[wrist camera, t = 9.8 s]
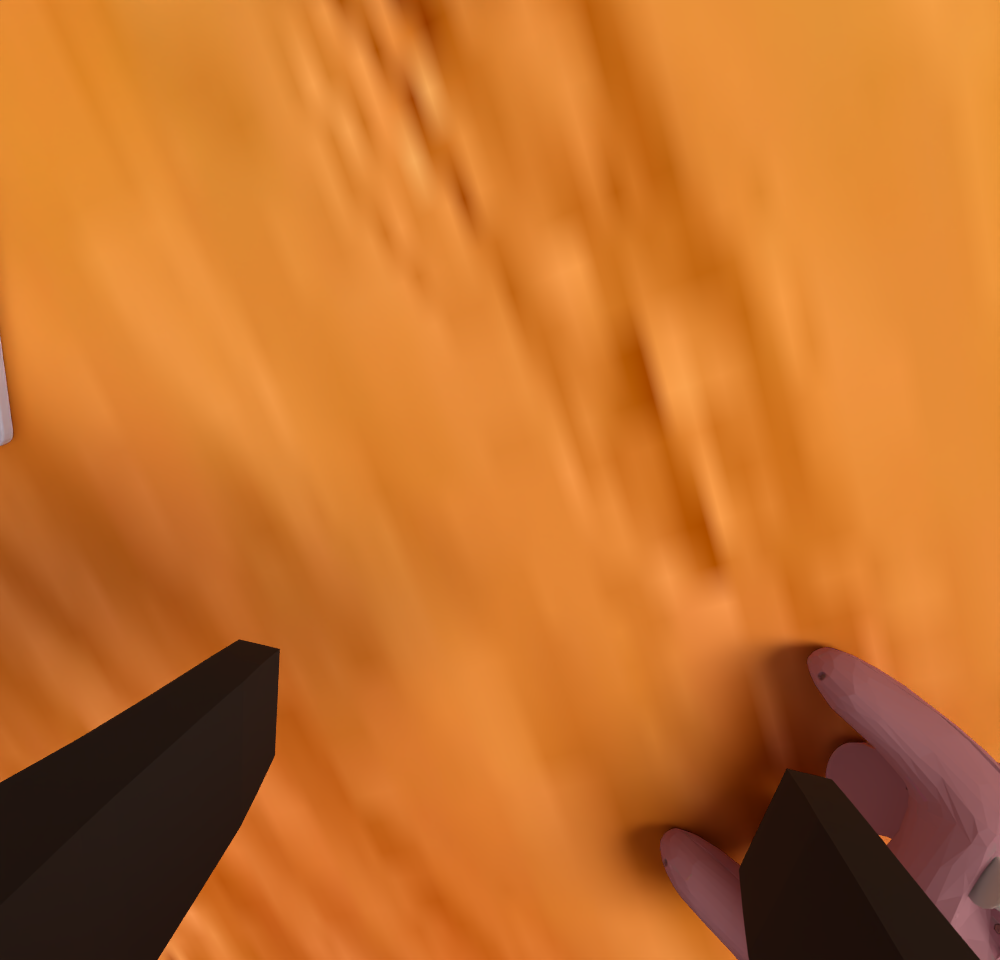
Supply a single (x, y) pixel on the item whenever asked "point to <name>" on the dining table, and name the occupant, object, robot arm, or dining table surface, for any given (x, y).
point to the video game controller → (884, 807)
